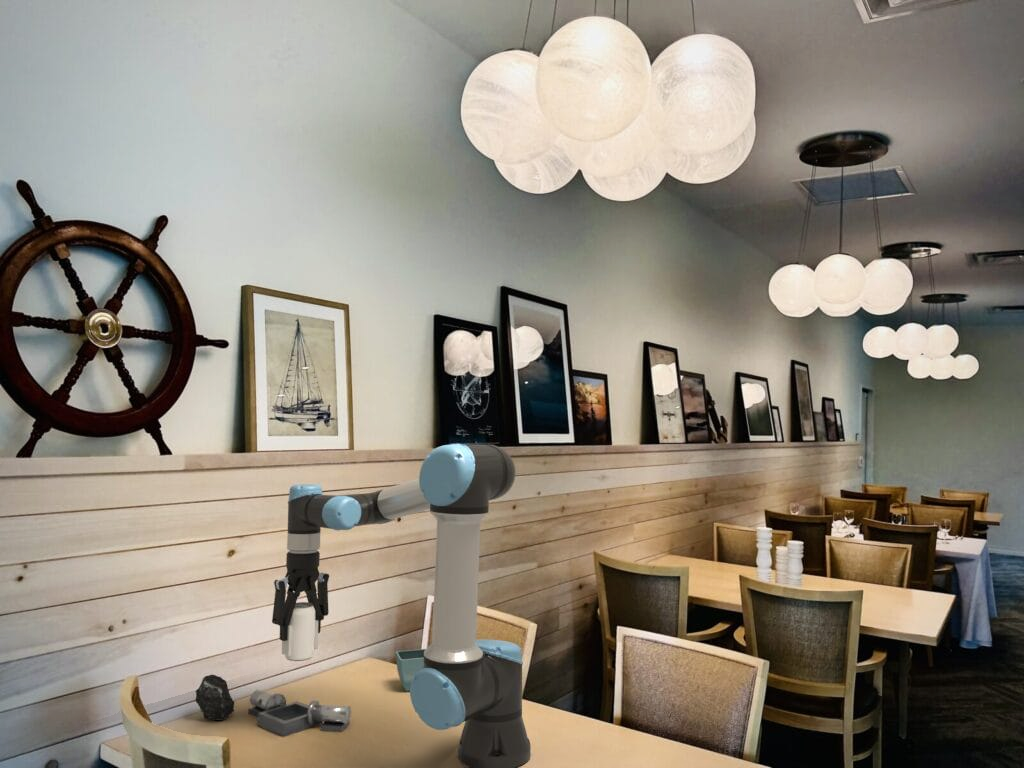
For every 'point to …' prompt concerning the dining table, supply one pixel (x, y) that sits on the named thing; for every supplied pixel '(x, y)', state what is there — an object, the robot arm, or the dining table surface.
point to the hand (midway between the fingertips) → (299, 651)
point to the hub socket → (286, 719)
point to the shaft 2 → (329, 716)
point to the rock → (214, 698)
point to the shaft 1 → (265, 702)
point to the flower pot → (409, 665)
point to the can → (302, 632)
